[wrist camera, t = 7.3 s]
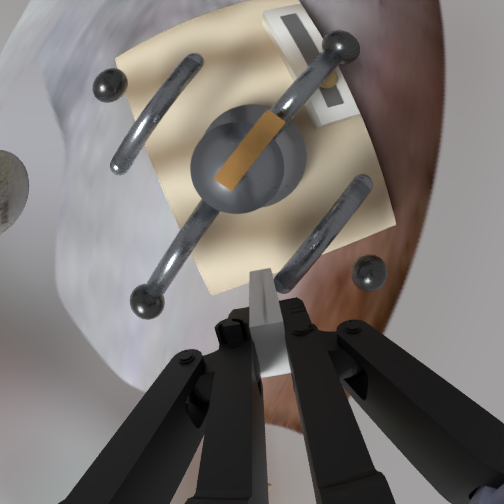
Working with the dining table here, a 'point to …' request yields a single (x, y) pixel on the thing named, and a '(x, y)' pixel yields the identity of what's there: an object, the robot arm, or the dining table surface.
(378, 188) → the stand
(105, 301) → the dining table surface
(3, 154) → the decorative object
